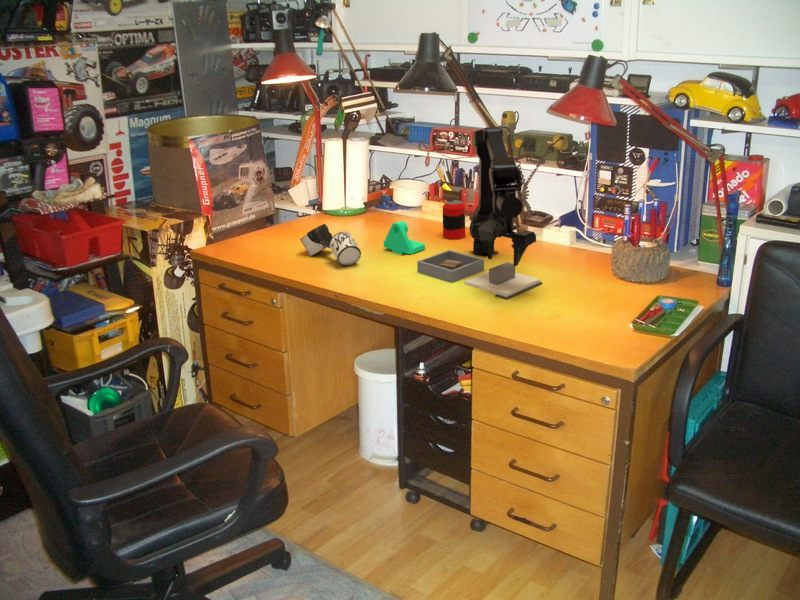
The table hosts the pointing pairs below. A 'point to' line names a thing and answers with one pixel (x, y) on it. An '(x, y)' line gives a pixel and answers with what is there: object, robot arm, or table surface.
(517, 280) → the lid
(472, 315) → the table surface
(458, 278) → the storage box
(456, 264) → the walnut block
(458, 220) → the soda can
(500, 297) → the rubber mat
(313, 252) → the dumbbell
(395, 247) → the camera mount
